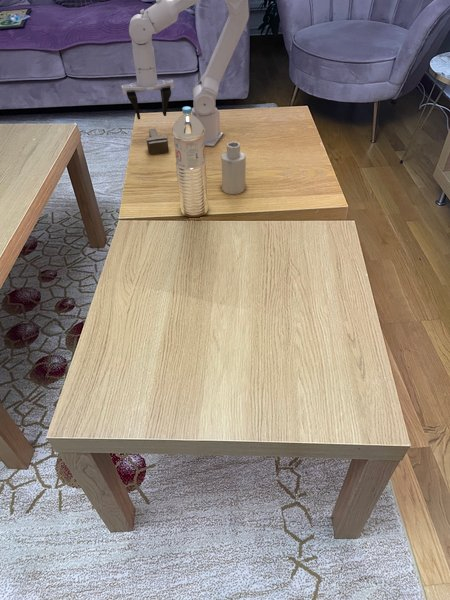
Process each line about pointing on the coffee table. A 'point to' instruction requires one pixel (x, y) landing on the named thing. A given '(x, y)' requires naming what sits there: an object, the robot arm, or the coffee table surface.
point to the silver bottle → (233, 169)
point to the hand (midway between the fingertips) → (151, 116)
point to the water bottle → (191, 164)
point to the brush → (156, 143)
